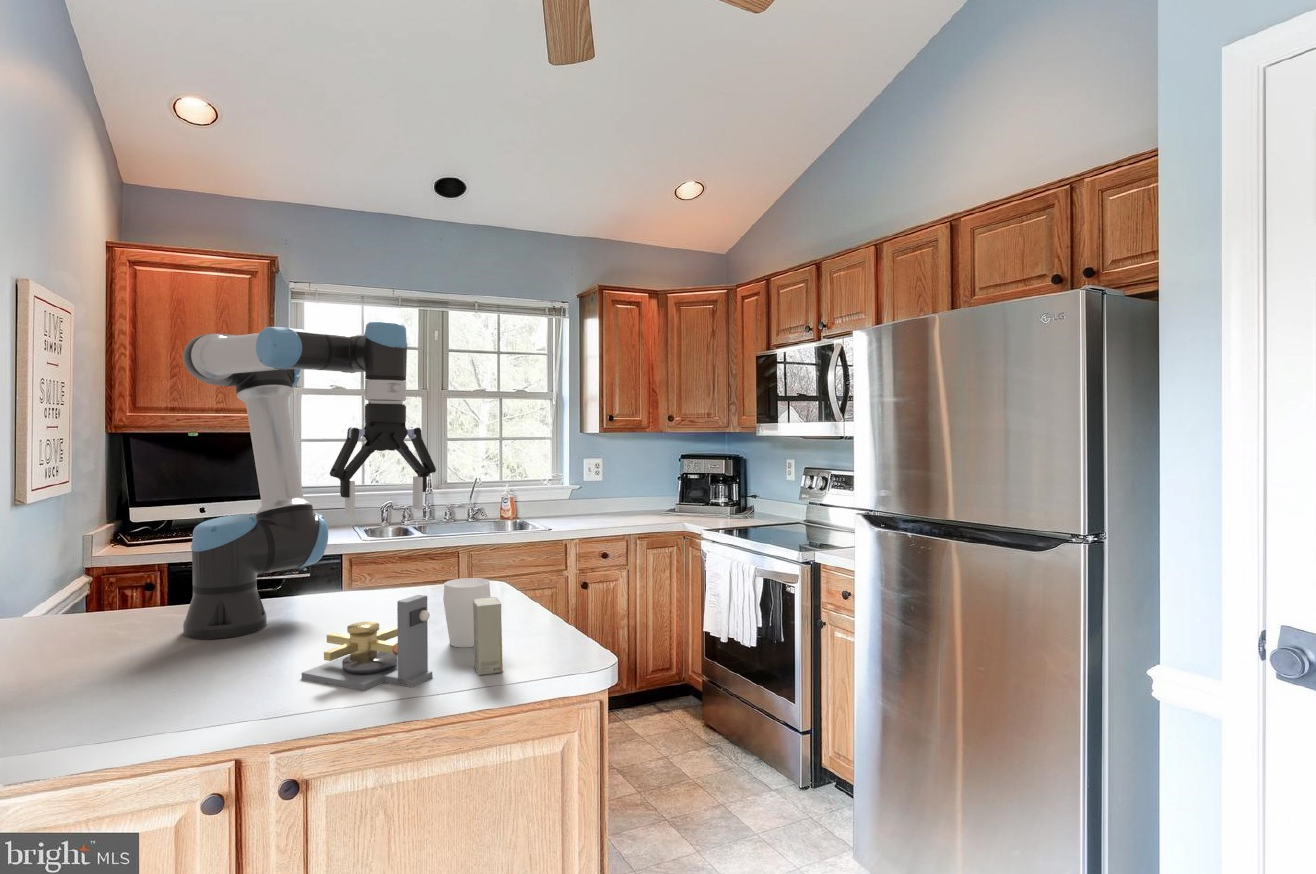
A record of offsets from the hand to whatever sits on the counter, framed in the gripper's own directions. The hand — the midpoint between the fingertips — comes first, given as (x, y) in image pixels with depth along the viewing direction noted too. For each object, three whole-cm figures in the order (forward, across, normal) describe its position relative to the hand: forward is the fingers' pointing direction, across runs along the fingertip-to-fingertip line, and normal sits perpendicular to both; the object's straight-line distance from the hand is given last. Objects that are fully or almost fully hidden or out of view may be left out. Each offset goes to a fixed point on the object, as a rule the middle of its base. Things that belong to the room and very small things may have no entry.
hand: (384, 511), depth 147 cm
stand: (+26, -8, -16) cm, 31 cm away
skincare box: (+26, +7, -27) cm, 38 cm away
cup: (+26, +12, -10) cm, 31 cm away
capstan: (+25, -9, -13) cm, 29 cm away
